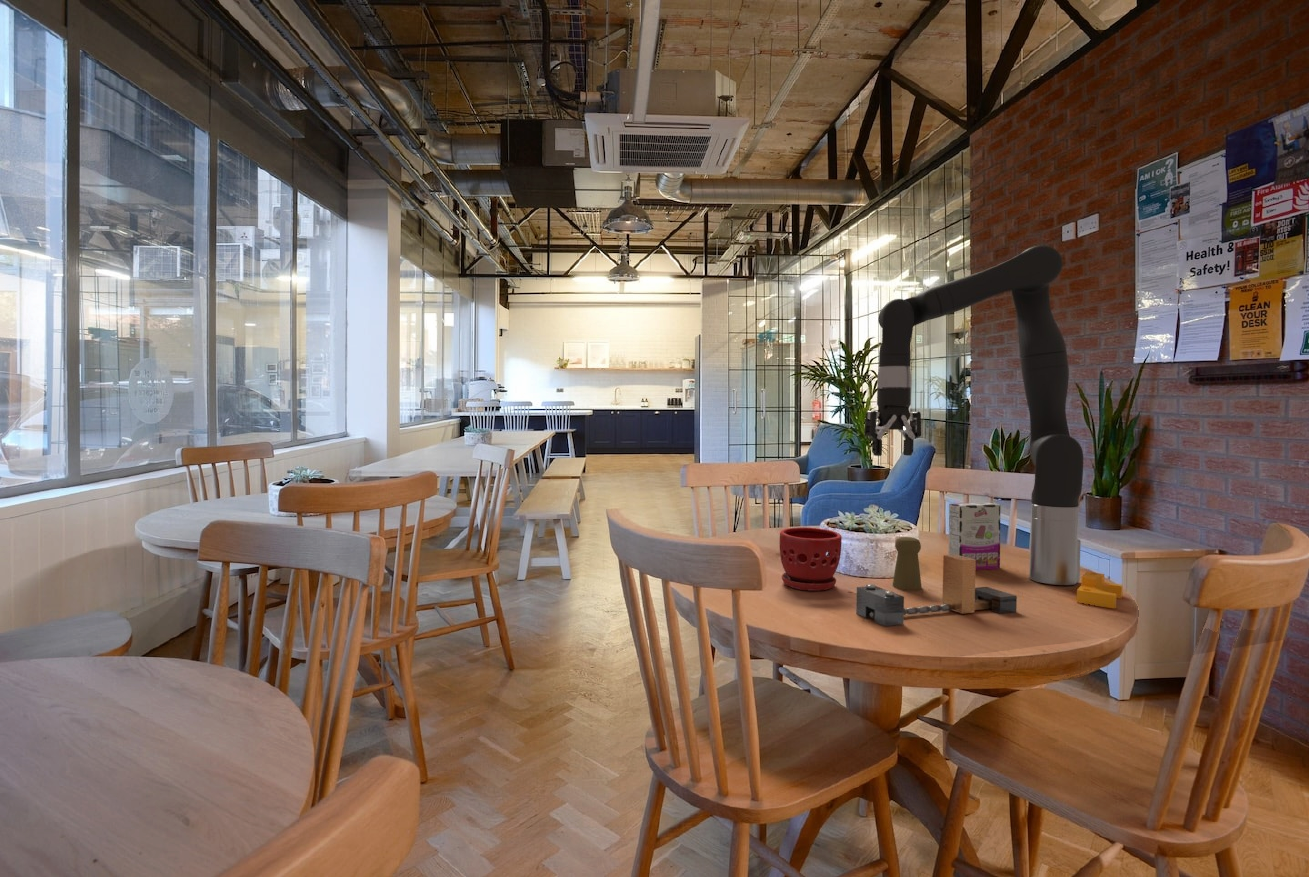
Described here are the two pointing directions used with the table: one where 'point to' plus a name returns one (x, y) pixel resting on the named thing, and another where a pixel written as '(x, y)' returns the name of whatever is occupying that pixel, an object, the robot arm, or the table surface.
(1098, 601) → the yellow stand
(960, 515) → the candy bar box
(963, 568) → the tie-down chain
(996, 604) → the hook
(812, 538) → the plant pot
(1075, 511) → the robot arm
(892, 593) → the block
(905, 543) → the olive keyhole shaped block
